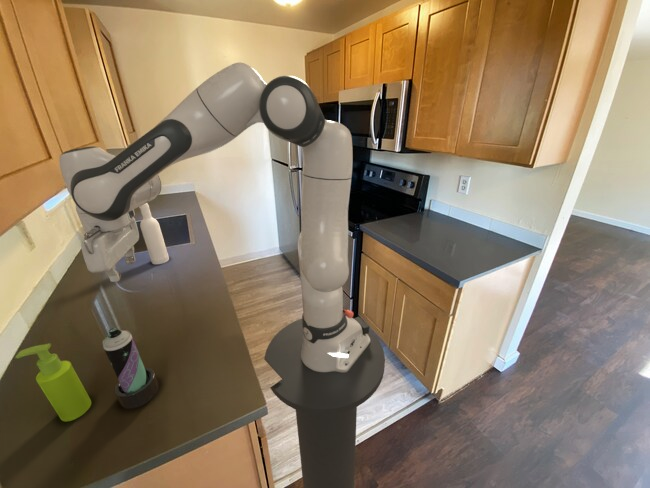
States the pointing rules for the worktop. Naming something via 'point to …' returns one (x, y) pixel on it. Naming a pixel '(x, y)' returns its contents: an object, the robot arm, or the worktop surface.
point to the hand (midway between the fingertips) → (124, 271)
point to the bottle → (153, 237)
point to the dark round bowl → (138, 392)
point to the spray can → (125, 360)
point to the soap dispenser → (59, 383)
